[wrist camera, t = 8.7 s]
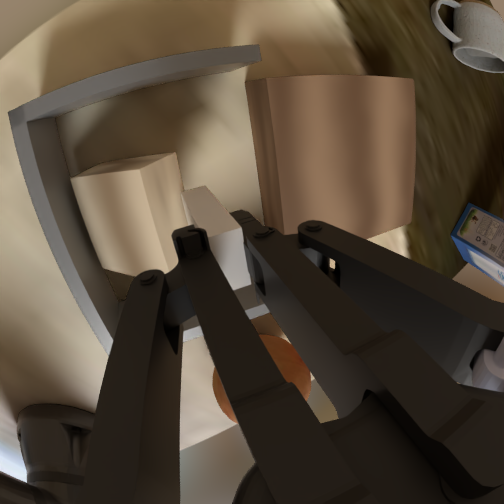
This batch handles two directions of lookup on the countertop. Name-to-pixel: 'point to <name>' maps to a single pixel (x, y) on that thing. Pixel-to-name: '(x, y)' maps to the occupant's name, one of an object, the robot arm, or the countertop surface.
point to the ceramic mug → (474, 34)
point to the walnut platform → (335, 151)
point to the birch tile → (133, 211)
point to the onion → (285, 362)
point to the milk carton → (481, 241)
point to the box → (60, 187)
